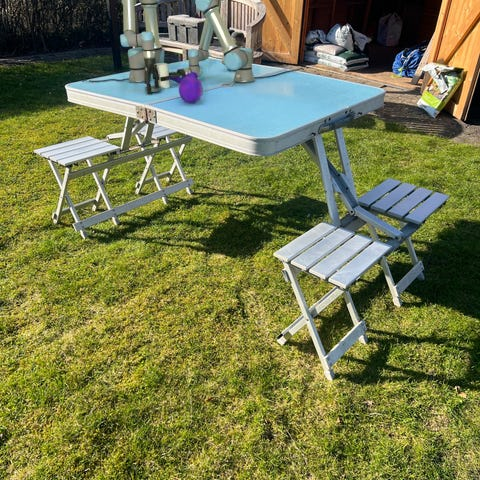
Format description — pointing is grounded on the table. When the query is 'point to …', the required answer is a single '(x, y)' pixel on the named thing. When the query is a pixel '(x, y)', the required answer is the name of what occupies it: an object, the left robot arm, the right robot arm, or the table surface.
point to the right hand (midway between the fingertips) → (156, 78)
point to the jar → (163, 74)
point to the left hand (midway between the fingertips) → (153, 92)
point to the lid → (154, 88)
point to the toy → (189, 87)
